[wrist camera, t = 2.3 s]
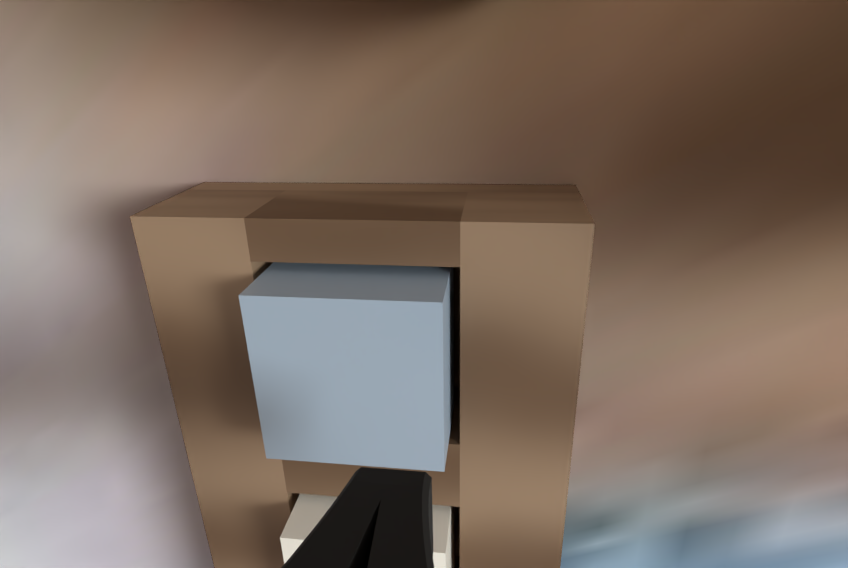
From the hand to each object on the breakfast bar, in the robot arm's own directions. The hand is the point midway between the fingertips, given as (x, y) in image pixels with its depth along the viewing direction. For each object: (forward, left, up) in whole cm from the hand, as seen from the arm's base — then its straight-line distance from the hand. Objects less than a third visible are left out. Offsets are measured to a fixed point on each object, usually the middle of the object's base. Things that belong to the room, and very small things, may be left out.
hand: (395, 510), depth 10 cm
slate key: (0, +2, -7) cm, 7 cm away
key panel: (-8, +2, -9) cm, 13 cm away
